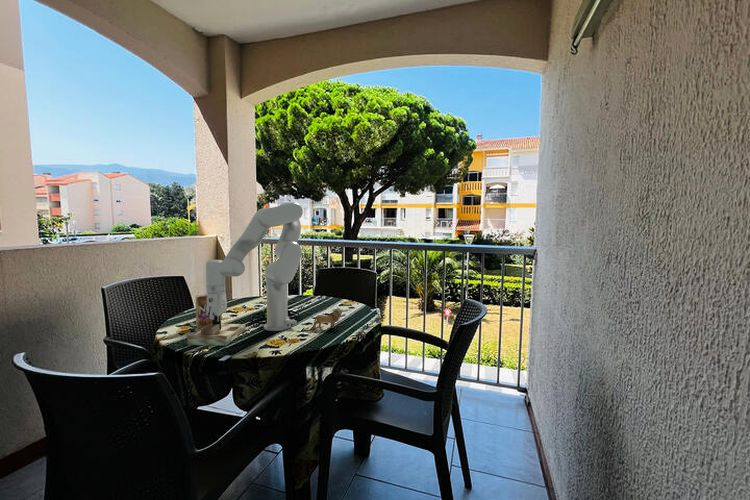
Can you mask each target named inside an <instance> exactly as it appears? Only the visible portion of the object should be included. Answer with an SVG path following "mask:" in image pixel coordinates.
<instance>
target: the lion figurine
mask: <svg viewBox="0 0 750 500" xmlns="http://www.w3.org/2000/svg"><path fill="white" fill-rule="evenodd" d="M341 317H342V310H341V309H339V308H335V309H333V310H332V312H330V313H329V314H328V315H327V314H326V315H325V314H318V315H317V316H315V318H314V321H313V326H312V327H311V329H317V328H319V330H320V329H323V328H322V327H321V326H322V323H325V324H330V325H329V326H330V327H331V326H332V327H331V328H332V329H333V328H334V327H335V323H337V322H339V320H340V319H341ZM317 325H318V327H317Z"/></svg>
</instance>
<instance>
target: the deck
mask: <svg viewBox="0 0 750 500" xmlns="http://www.w3.org/2000/svg"><path fill="white" fill-rule="evenodd" d="M245 330H246V324H244V323H221V330H220V334H218V335H201V329H200V330H199V331H197V332H195V333H194V334H187V335H186V338H187V346H227V345H228V344H230V343H231V342H233V340H235V339H236V338H237V337H238V336H239V335H240V334H242V333H243V332H244V331H245Z"/></svg>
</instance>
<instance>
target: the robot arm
mask: <svg viewBox="0 0 750 500" xmlns="http://www.w3.org/2000/svg"><path fill="white" fill-rule="evenodd" d="M303 214H304V210H303V207H302V206H301V205H300V204H299V203H298V202H293V201H291V202H283V203H281V204H280V205H277V206H273V207H263V208H260V209H258V210H257V211H256V212H255V214H253V217H251V220H250V222H249V224H248V225H247V227H246V228H245V230H244V231H243V232H242V234H241V235H240V237H239V238H238V239H237V240H236V242H235V243H234V244H233V245H232V246H231V248H230V249H229V251H228V252H227V253H226V255H225V257H224V259H223V260H222V259H211V260H208V261H206V263H205V283H206V286H205V290H206V294H207V315H208V316H210V317H209V319H210V320H212V324H218V325H220V330H221V324H222V315H223V314H225V313H226V312H227V311H228V302H227V293H226V277H240V276H241V275H243V274H244V273H245V270H246V265H245V263H244V262H243V261H244V259H245V257H246V256H247V255H248V254H249V253H250V252H251V251H252V250H254V249H256V248H257V247H258V246H260V245H261V244H262V243H261V242H262V241H263V240H264V238H265V235H266V234H267V233H268V231H269V229H270V228H273V227H278V226H279V227H280V226H282V230H281V233H280V236H279V239H278V241H277V244H276V245H275V249H274V250H275V251H274V254H275V255H276V257H277V258H278V260H277V261H272V262H270V263H268V265H267V266H266V267H265V270H264V271H265V272H264V277H265V278H264V279H265V283H266V285H265V287H266V323H265V324H264V325H263V329H264V330H265V331H268V332H270V331H271V332H280V331H286V330H288V329H290V328H291V326H292V325H294V326H295V325H297V324H298V323H297V322H298V321H297V320H295V319H291V318H290V316H288V311H289V310H288V295H289V294H288V284H290V283H291V282H292V281H293V279H295V278H294V277H295V275H296V273H297V271H298V267H299V264H300V262H301V259H302V255H303V254H302V253H303V250H302V247H301V245H300V244H299V239H300V236H301V232H302V226H301V221H300V219H301V218H302V217H303Z"/></svg>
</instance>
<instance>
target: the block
mask: <svg viewBox="0 0 750 500" xmlns="http://www.w3.org/2000/svg"><path fill="white" fill-rule="evenodd" d="M200 330H201V335H218V334H220V325H218V324H208V325H206V326H204V327H203V328H200Z"/></svg>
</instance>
